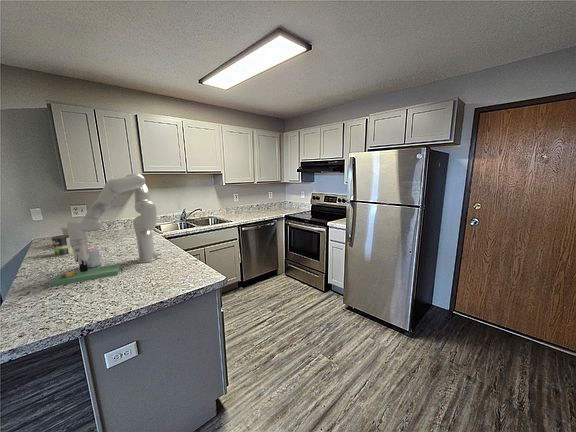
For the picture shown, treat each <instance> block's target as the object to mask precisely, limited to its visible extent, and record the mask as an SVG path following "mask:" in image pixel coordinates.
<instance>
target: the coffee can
mask: <svg viewBox="0 0 576 432" xmlns="http://www.w3.org/2000/svg"><path fill="white" fill-rule="evenodd" d="M50 239H51V242H52V243H51V244H52V246H53V253H54V257H56V258H57V257H58V258H59V257H66V256H70V255H73V254H74V253H73V246H71V245H70V240H69V235H57V236H53V237H51V238H50Z"/></svg>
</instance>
